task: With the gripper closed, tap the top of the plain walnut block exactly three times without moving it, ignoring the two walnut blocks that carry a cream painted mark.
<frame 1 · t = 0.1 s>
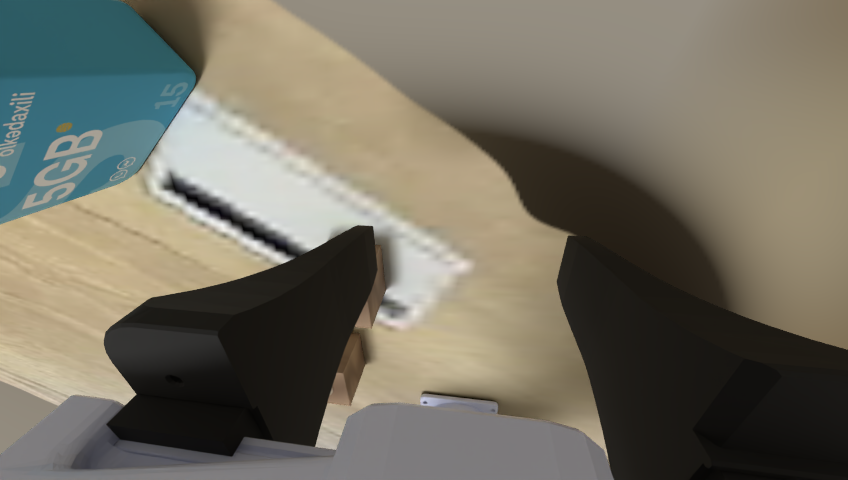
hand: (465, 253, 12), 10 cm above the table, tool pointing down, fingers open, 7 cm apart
marked block 2: (341, 346, 31), on the table
marked block 1: (357, 266, 26), on the table
data package: (140, 103, 21), on the table
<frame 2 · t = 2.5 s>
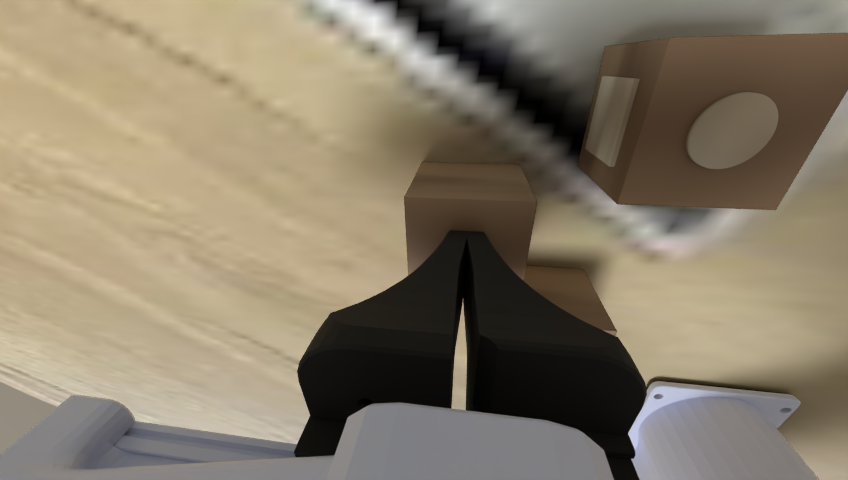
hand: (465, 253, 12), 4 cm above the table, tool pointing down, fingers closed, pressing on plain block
marked block 2: (532, 298, 18), on the table
marked block 1: (648, 111, 12), on the table
plain block: (467, 207, 15), on the table, touching gripper
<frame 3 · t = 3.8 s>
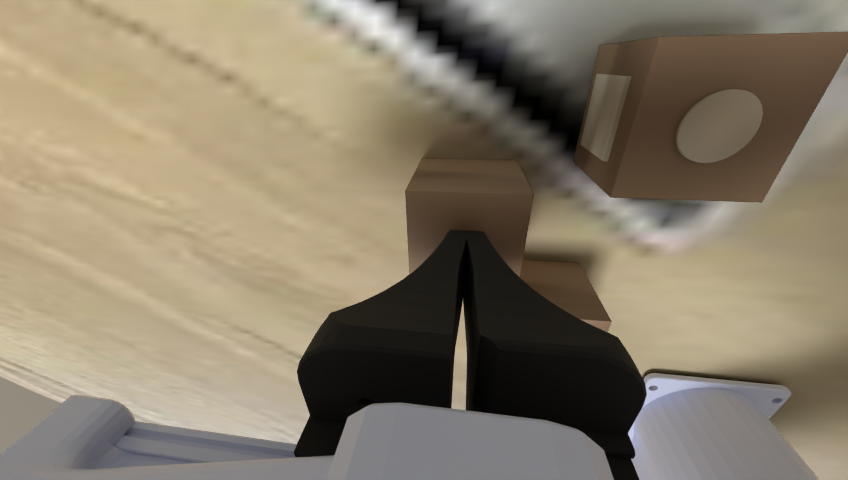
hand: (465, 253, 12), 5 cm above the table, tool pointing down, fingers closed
marked block 2: (529, 291, 18), on the table
marked block 1: (641, 108, 13), on the table
plain block: (466, 202, 16), on the table
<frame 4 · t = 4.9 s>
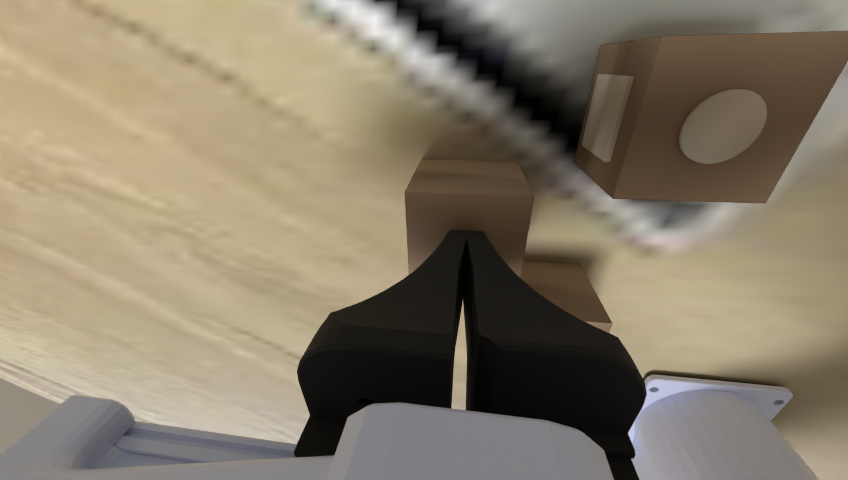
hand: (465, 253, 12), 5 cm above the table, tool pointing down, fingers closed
marked block 2: (530, 292, 18), on the table
marked block 1: (642, 108, 13), on the table
plain block: (466, 203, 16), on the table
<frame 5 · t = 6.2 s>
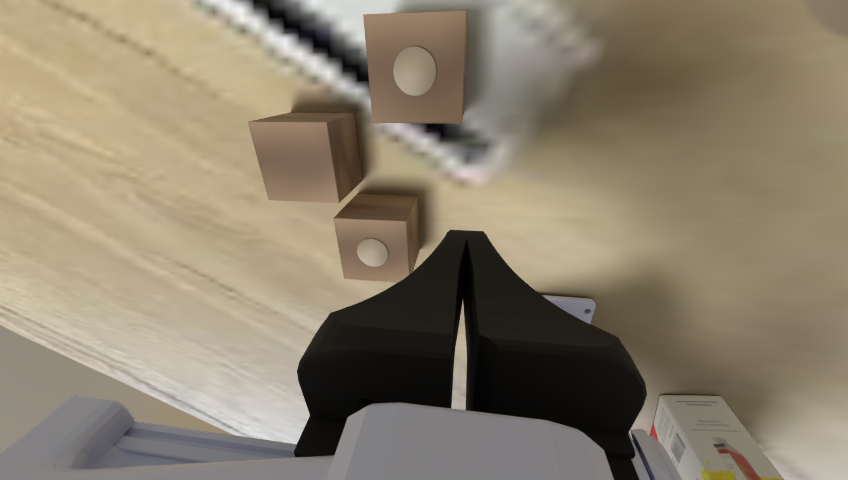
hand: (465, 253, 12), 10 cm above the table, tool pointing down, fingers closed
ink box: (679, 420, 29), on the table
marked block 2: (389, 222, 23), on the table
marked block 1: (427, 72, 18), on the table
plain block: (328, 147, 21), on the table
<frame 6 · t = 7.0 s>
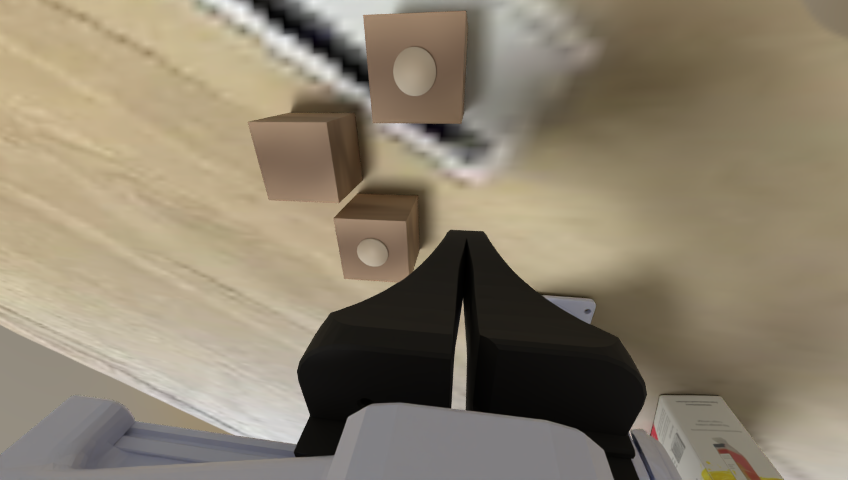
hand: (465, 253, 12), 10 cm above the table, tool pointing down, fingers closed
ink box: (679, 420, 29), on the table
marked block 2: (389, 222, 23), on the table
marked block 1: (427, 72, 18), on the table
plain block: (328, 147, 21), on the table
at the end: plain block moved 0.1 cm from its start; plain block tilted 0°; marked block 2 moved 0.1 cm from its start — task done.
